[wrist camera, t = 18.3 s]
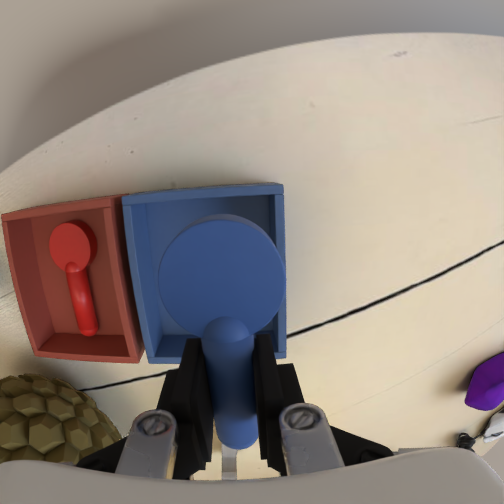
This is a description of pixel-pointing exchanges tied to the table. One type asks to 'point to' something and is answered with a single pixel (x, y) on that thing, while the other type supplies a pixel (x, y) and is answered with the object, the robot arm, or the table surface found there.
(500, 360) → the crystal
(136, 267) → the blue bin
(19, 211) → the red bin
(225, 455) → the grey flat angular piece
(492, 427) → the computer mouse
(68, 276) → the red ping pong paddle
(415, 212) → the table surface
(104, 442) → the decorative object
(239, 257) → the blue spoon
